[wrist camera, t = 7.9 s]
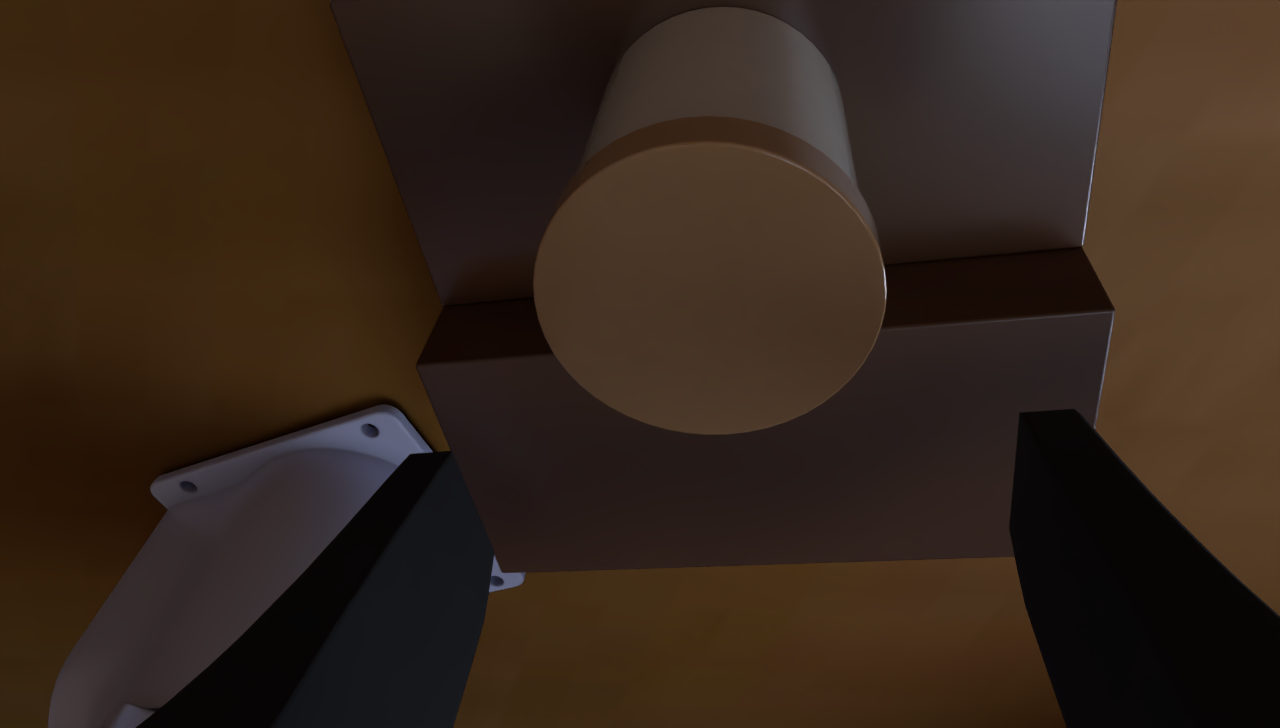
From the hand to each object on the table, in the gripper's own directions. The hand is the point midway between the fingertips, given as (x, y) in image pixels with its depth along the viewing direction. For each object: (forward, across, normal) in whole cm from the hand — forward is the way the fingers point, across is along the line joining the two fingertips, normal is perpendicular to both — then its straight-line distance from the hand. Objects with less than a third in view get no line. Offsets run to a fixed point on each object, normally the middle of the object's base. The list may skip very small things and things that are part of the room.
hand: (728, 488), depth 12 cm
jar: (+7, 0, -2) cm, 7 cm away
